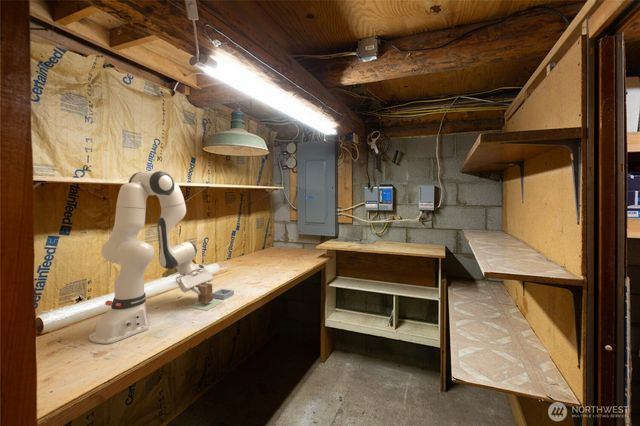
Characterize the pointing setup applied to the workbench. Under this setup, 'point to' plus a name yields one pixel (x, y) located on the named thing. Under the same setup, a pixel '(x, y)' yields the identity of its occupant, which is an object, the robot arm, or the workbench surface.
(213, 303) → the rubber mat
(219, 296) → the gray square frame
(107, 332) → the robot arm
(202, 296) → the walnut block
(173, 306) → the workbench surface
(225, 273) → the workbench surface
